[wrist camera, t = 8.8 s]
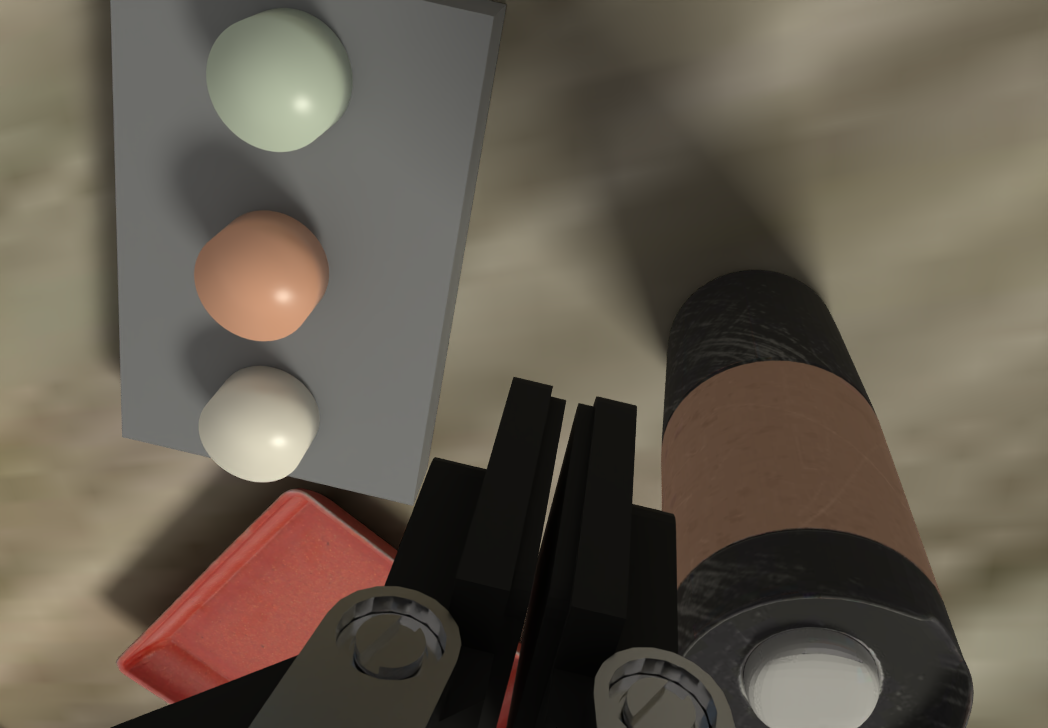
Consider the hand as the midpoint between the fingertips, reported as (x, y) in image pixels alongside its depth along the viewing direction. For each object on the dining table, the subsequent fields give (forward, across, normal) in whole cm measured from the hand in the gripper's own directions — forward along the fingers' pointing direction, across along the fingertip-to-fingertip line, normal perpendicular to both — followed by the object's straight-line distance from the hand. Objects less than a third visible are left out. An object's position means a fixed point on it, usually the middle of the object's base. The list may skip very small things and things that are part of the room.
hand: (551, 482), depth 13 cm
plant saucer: (+28, +8, +34) cm, 44 cm away
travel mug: (+27, -8, +10) cm, 30 cm away
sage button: (+25, +12, +2) cm, 28 cm away
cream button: (+25, +12, +17) cm, 32 cm away
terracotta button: (+24, +12, +10) cm, 28 cm away
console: (+27, +12, +10) cm, 31 cm away
